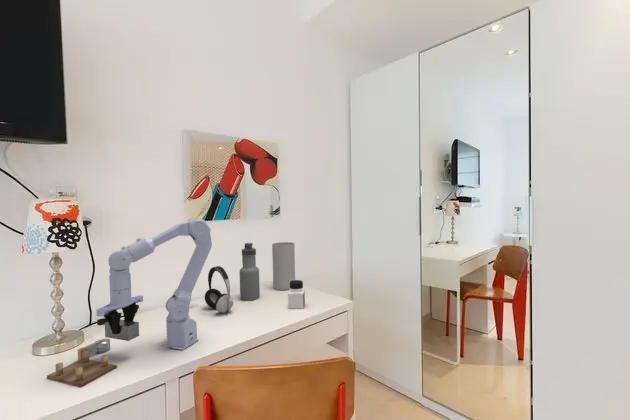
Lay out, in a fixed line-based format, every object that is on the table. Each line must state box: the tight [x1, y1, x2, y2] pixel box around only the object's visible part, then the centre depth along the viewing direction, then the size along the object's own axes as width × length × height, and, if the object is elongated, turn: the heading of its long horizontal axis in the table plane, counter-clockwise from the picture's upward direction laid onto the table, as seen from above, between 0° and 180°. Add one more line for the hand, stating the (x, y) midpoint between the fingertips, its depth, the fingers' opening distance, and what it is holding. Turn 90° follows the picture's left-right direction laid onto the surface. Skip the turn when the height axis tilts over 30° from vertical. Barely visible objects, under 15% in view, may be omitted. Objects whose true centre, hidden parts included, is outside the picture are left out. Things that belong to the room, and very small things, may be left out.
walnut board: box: [46, 351, 118, 388], centre depth 89 cm, size 14×10×4 cm
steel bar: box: [104, 318, 140, 342], centre depth 98 cm, size 10×4×4 cm, turn 71°
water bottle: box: [239, 242, 261, 301], centre depth 157 cm, size 10×10×28 cm
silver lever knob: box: [77, 338, 111, 361], centre depth 100 cm, size 4×9×4 cm, turn 161°
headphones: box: [204, 265, 234, 313], centre depth 140 cm, size 19×8×20 cm, turn 44°
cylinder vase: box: [271, 241, 296, 291], centre depth 175 cm, size 12×12×25 cm
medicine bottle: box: [287, 279, 306, 310], centre depth 143 cm, size 7×7×12 cm
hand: (122, 330), depth 98 cm, fingers closed on steel bar, 4 cm apart
